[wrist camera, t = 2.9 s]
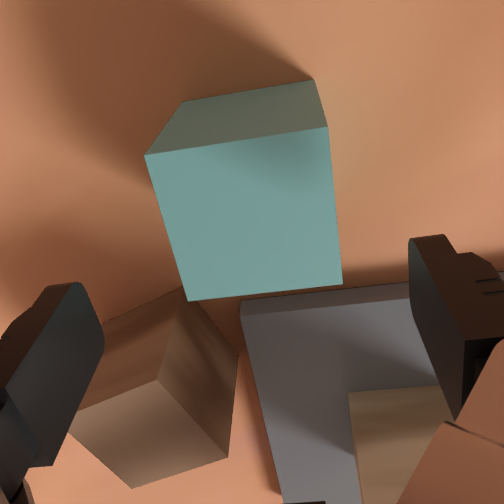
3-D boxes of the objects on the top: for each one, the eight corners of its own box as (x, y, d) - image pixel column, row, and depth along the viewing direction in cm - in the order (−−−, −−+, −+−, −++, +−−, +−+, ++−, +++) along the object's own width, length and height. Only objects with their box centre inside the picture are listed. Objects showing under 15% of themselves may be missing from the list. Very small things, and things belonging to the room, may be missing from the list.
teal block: (182, 101, 18) (143, 155, 13) (313, 79, 17) (328, 126, 12) (211, 217, 21) (187, 301, 16) (326, 201, 20) (343, 283, 15)
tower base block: (347, 392, 24) (366, 509, 19) (451, 384, 23) (499, 503, 18) (354, 455, 26) (372, 574, 21) (448, 449, 26) (489, 570, 21)
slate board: (241, 300, 23) (239, 316, 22) (554, 265, 21) (568, 281, 20) (286, 498, 31) (287, 516, 30) (515, 485, 29) (524, 504, 28)
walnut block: (103, 323, 24) (55, 420, 19) (184, 284, 23) (156, 379, 17) (160, 385, 26) (131, 488, 21) (238, 354, 25) (228, 457, 20)
